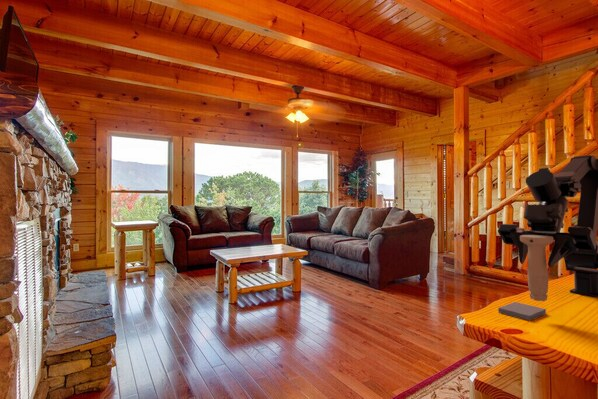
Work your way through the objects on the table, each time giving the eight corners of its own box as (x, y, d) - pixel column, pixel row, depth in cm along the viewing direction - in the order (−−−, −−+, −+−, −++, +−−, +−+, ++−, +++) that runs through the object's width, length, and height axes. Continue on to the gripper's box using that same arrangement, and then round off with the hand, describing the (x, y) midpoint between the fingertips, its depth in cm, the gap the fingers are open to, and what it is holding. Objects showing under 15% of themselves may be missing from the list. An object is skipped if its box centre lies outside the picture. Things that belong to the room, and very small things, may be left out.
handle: (550, 305, 73) (547, 238, 73) (518, 298, 79) (516, 236, 79) (559, 300, 76) (556, 236, 76) (528, 294, 81) (525, 234, 81)
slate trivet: (515, 306, 86) (515, 301, 86) (545, 313, 80) (545, 309, 80) (498, 312, 82) (498, 307, 82) (529, 320, 76) (529, 315, 76)
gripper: (499, 193, 87) (480, 239, 81) (590, 190, 72) (576, 246, 66) (513, 220, 92) (496, 266, 85) (601, 223, 77) (589, 278, 70)
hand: (534, 264), depth 77 cm, fingers closed on handle, 5 cm apart
